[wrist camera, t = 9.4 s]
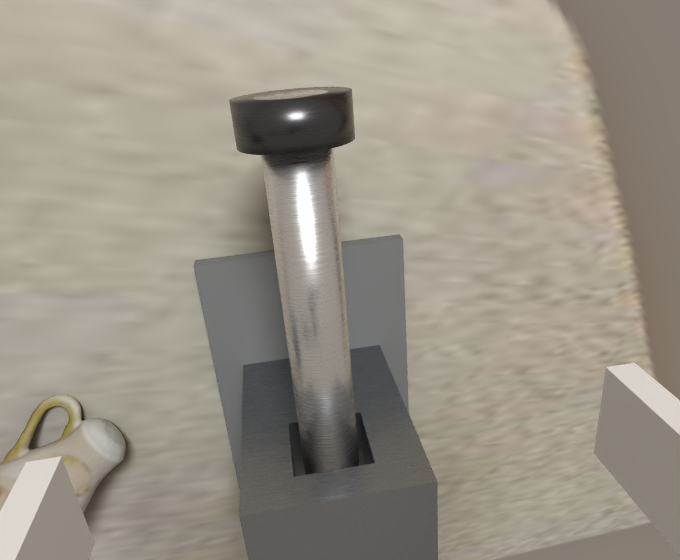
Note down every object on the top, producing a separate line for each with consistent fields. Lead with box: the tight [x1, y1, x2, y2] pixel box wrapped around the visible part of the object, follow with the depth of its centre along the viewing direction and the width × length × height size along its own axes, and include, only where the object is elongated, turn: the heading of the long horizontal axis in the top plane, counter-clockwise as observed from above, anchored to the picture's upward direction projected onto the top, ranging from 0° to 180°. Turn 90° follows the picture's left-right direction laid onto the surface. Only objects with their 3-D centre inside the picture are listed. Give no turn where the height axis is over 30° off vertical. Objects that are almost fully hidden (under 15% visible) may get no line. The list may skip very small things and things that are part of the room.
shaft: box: [229, 87, 359, 475], centre depth 28 cm, size 5×24×5 cm, turn 5°
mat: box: [194, 235, 409, 488], centre depth 42 cm, size 14×24×1 cm, turn 4°
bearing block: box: [240, 345, 438, 560], centre depth 36 cm, size 10×8×15 cm
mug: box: [0, 395, 126, 513], centre depth 39 cm, size 8×10×10 cm
